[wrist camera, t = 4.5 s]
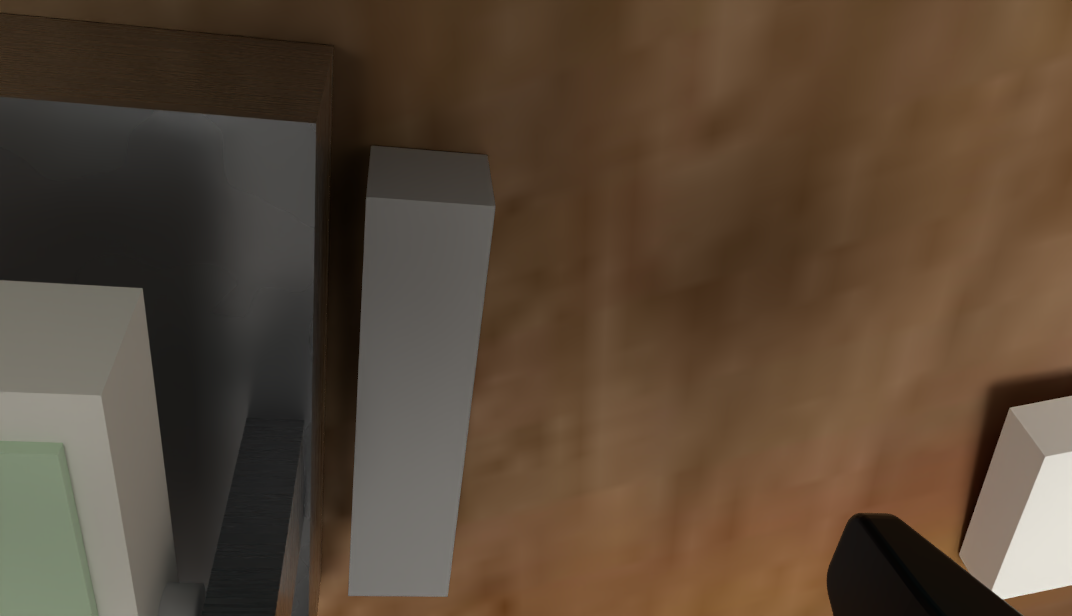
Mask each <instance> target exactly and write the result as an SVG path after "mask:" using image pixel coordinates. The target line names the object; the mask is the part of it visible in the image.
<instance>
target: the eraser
mask: <svg viewBox="0 0 1072 616" xmlns="http://www.w3.org/2000/svg"><path fill="white" fill-rule="evenodd" d="M959 556H960V558H961V559H962V561H963V563H964V564H965V566H966V568H967V570H968V571H969V573H970V574H971V575H972V576H973V577H975V578H976V579H977V580H979V581H980V582H981V583H982V584H984V585H985V586H986V587H987V588H989V589H990V590H991V591H993V592H994V593H995V594H996V595H998V596H999V597H1000V598H1001V599H1007V598H1012V597H1016V596H1021V595H1026V594H1031V593H1036V592H1041V591H1045V590H1050V589H1055V588H1060V587H1065V586H1070V585H1072V396H1068V397H1063V398H1057V399H1052V400H1047V401H1042V402H1037V403H1032V404H1026V405H1021V406H1016V407H1011V408H1009V411H1008V414H1007V417H1006V420H1005V423H1004V425H1003V428H1002V431H1001V434H1000V437H999V440H998V443H997V446H996V449H995V452H994V454H993V457H992V460H991V463H990V466H989V469H988V472H987V475H986V478H985V481H984V484H983V486H982V489H981V492H980V495H979V498H978V501H977V504H976V507H975V510H974V513H973V515H972V518H971V521H970V524H969V527H968V530H967V533H966V536H965V539H964V542H963V544H962V547H961V550H960V553H959Z"/></svg>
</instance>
